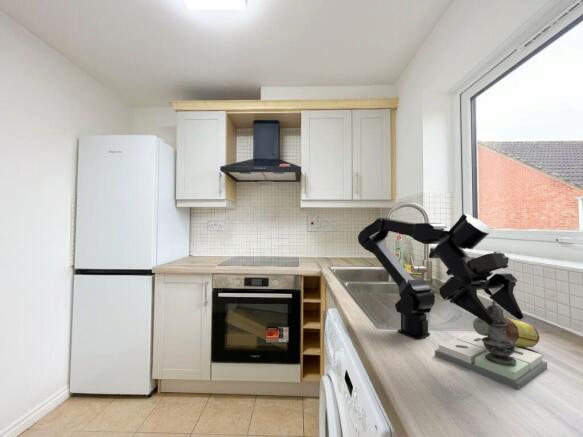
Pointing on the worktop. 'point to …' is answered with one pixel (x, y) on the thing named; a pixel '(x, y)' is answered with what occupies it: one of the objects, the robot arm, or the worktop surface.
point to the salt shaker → (498, 338)
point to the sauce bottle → (512, 331)
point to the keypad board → (494, 375)
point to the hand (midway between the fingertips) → (507, 321)
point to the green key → (503, 367)
